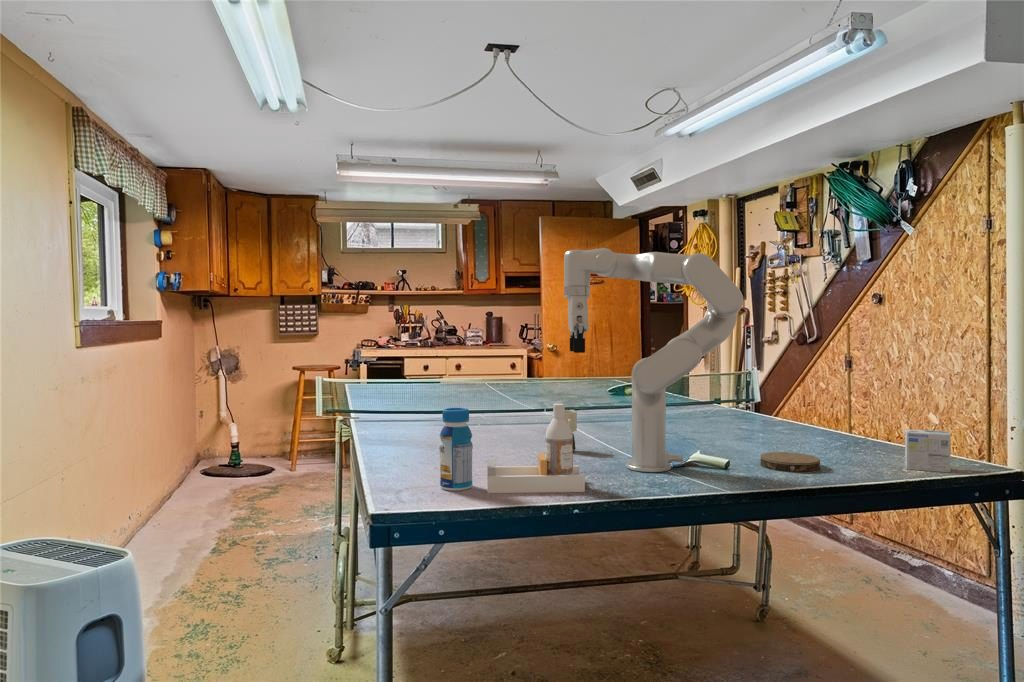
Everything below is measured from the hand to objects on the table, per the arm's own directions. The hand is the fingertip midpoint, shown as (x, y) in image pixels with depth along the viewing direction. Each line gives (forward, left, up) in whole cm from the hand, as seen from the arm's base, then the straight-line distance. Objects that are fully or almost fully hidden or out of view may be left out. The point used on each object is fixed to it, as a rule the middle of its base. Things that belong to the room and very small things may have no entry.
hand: (577, 351), depth 192 cm
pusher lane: (+14, +24, -33) cm, 43 cm away
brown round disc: (-61, +4, -34) cm, 70 cm away
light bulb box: (-98, +9, -34) cm, 104 cm away
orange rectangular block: (+12, +24, -32) cm, 42 cm away
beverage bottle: (+34, +24, -34) cm, 53 cm away
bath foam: (+8, +24, -32) cm, 41 cm away
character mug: (+1, -22, -34) cm, 40 cm away
